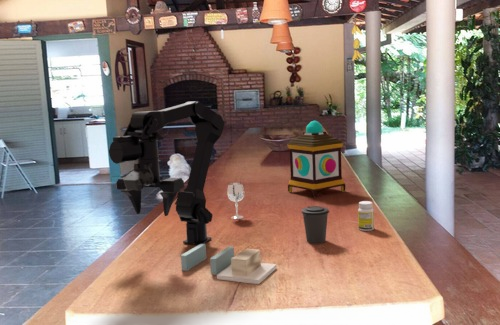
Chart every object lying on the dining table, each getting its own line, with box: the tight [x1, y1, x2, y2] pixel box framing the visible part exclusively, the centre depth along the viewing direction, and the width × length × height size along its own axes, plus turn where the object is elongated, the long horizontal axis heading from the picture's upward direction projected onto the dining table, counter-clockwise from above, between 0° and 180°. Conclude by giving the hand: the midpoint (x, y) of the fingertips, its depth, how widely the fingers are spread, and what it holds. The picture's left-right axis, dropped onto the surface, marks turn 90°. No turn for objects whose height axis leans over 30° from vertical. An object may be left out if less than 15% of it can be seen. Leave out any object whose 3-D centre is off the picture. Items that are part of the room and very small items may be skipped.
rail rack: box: [180, 243, 235, 276], centre depth 135 cm, size 10×10×4 cm
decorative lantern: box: [286, 120, 346, 199], centre depth 218 cm, size 20×20×30 cm
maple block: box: [231, 248, 262, 276], centre depth 128 cm, size 8×4×4 cm, turn 154°
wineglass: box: [227, 182, 245, 220], centre depth 183 cm, size 6×6×12 cm
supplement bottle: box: [357, 200, 375, 232], centre depth 161 cm, size 5×5×8 cm
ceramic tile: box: [216, 262, 278, 285], centre depth 128 cm, size 11×11×1 cm
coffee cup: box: [300, 205, 330, 245], centre depth 151 cm, size 8×8×10 cm
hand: (152, 214), depth 143 cm, fingers open, 9 cm apart
